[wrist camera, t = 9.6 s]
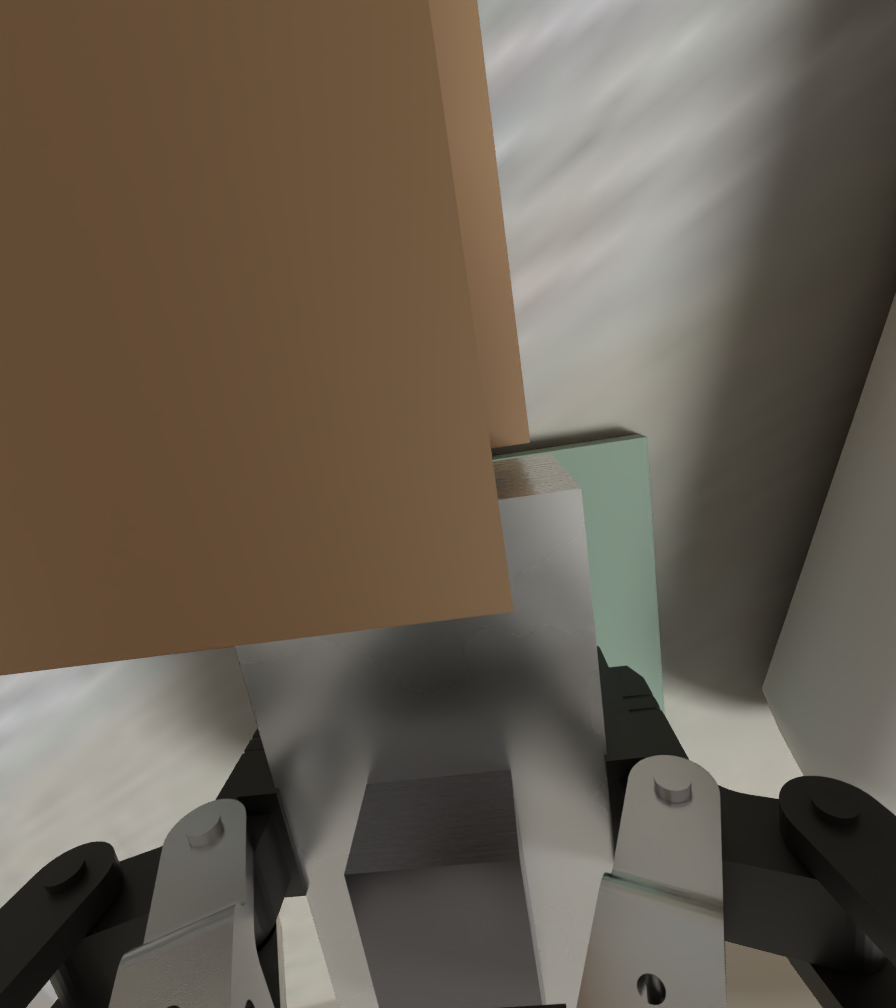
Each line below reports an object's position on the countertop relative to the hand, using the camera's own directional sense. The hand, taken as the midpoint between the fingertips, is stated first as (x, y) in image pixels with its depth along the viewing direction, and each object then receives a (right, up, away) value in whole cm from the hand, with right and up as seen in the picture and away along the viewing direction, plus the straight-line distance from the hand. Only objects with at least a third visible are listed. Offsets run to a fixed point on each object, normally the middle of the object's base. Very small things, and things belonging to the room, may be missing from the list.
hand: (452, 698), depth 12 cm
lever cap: (0, 0, -1) cm, 1 cm away
